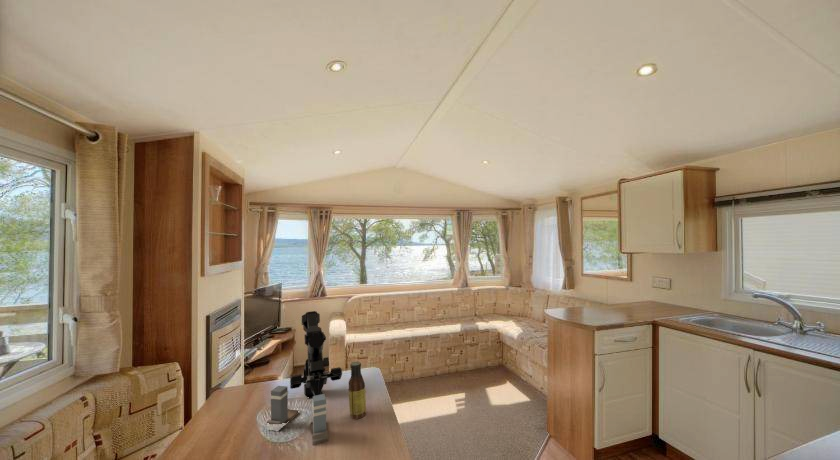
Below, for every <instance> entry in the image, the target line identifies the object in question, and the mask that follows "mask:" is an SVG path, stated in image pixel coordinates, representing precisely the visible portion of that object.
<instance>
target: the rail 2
mask: <svg viewBox="0 0 840 460" xmlns="http://www.w3.org/2000/svg"><path fill="white" fill-rule="evenodd" d="M310 431H311V442H312V446H315V445H319V444H323V443H326V442H329V430H328V429H327V427H326V431H323V432H319V433H315V434H313V421H311V422H310Z"/></svg>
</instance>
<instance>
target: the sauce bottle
mask: <svg viewBox="0 0 840 460" xmlns="http://www.w3.org/2000/svg"><path fill="white" fill-rule="evenodd" d="M361 367H362V362H361V361H353V362H351V363H350V375H351V376H350V378H349V379H348V403H349V405H348V406H349V408H348V409H349V416H350V418H352V419H353V420H358V419H362V418H363V417H365V415H367V414H366V413H367V403H366V402H367V401H366V400H367V399H366V384H365V381H364V378H363V374H362V369H361Z"/></svg>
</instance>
